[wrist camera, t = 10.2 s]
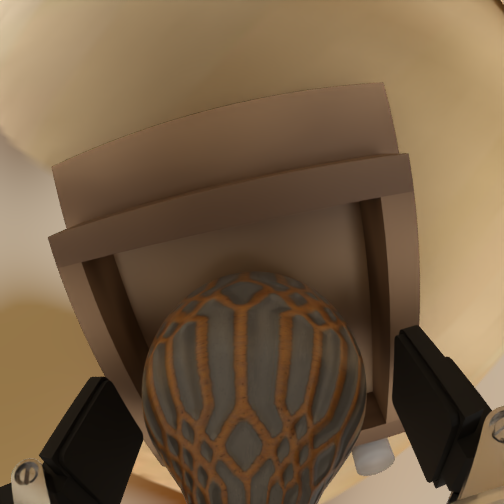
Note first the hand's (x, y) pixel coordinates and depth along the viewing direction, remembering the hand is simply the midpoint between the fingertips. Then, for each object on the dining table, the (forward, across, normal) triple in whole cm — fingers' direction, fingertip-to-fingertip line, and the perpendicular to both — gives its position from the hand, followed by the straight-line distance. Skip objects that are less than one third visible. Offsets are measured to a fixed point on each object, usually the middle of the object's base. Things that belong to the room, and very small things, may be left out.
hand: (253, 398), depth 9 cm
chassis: (+5, 0, 0) cm, 5 cm away
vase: (+4, 0, 0) cm, 4 cm away
